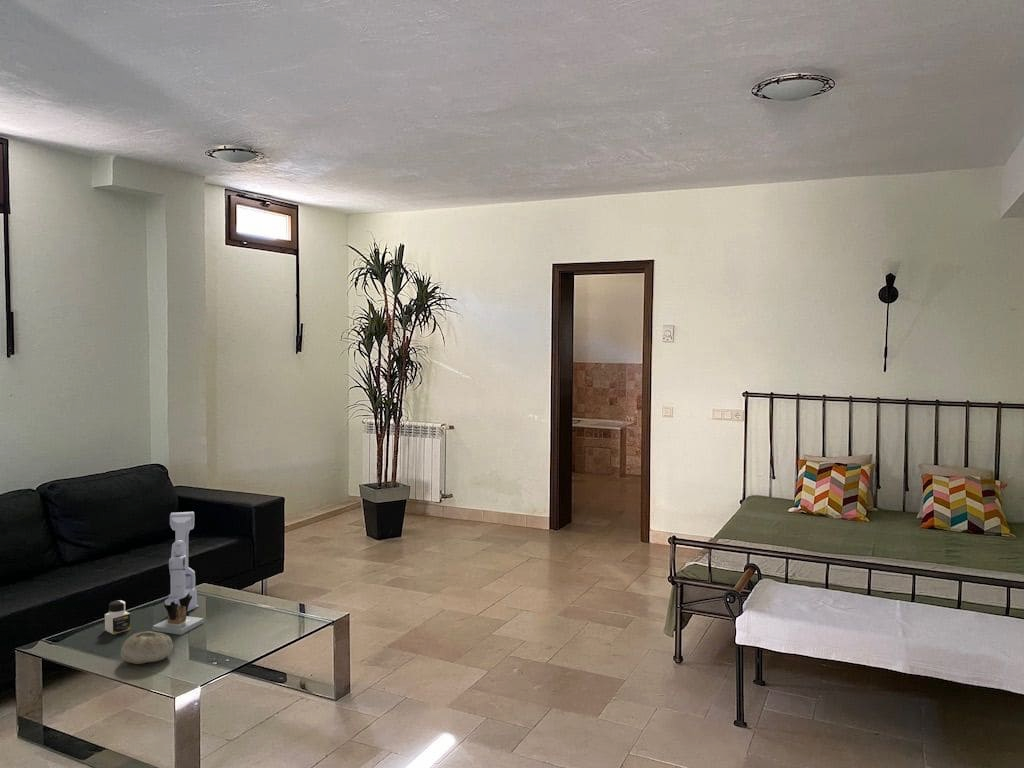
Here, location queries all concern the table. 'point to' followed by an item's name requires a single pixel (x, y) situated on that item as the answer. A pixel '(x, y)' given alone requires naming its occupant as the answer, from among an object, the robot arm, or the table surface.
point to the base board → (178, 625)
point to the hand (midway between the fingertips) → (178, 616)
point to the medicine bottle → (117, 618)
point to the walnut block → (179, 615)
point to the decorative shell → (146, 647)
